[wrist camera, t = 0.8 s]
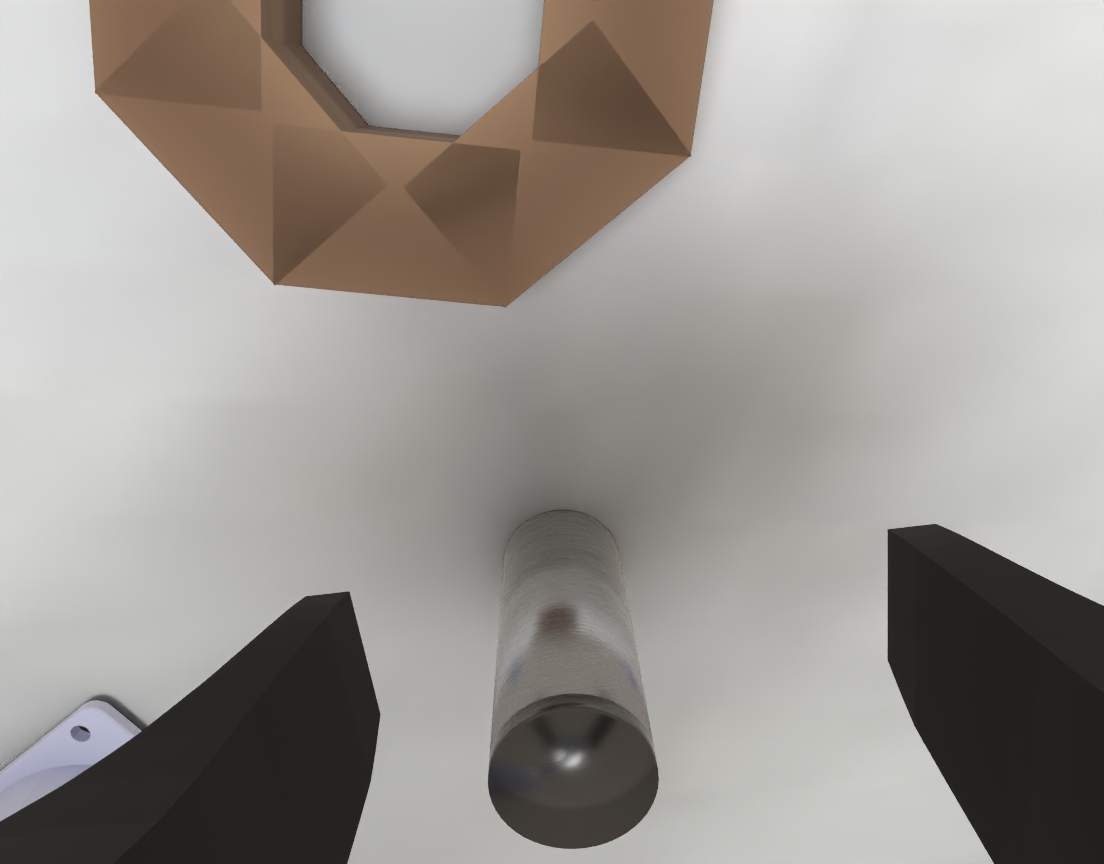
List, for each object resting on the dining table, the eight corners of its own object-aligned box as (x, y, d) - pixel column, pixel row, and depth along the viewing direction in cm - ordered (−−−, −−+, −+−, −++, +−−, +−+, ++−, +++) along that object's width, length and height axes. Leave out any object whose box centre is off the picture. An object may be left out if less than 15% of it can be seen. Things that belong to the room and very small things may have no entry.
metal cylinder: (553, 632, 24) (560, 874, 17) (479, 555, 23) (453, 774, 16) (642, 569, 24) (692, 791, 16) (570, 488, 23) (587, 681, 15)
